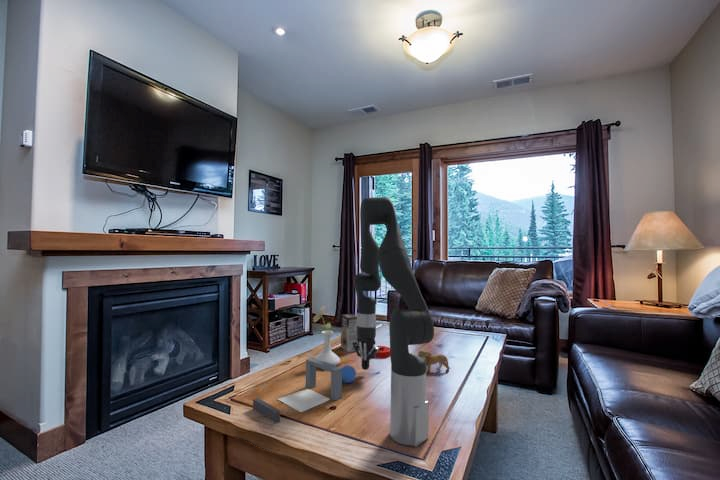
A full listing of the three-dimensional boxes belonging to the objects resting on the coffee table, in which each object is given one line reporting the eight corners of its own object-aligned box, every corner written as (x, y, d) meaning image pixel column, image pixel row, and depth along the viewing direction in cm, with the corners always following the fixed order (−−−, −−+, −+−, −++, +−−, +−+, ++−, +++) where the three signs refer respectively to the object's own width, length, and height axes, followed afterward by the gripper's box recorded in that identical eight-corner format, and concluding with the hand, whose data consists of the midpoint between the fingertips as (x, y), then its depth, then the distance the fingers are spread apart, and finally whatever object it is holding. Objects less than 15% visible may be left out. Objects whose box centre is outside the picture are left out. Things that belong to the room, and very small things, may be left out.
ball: (359, 382, 124) (359, 365, 124) (347, 387, 120) (348, 370, 120) (347, 377, 128) (347, 362, 128) (335, 382, 124) (336, 365, 124)
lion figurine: (421, 375, 132) (421, 352, 133) (414, 370, 137) (415, 348, 138) (453, 371, 137) (453, 349, 137) (446, 367, 142) (446, 345, 142)
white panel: (330, 399, 109) (330, 399, 109) (300, 412, 101) (300, 411, 101) (307, 388, 118) (307, 388, 118) (277, 399, 109) (277, 399, 109)
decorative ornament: (368, 352, 161) (368, 345, 161) (387, 351, 163) (387, 345, 163) (372, 359, 151) (372, 352, 151) (393, 358, 153) (393, 351, 153)
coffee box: (340, 347, 168) (340, 314, 168) (352, 345, 170) (352, 313, 171) (347, 352, 159) (348, 318, 160) (359, 350, 162) (360, 317, 162)
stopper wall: (279, 421, 95) (280, 410, 95) (275, 423, 94) (275, 412, 94) (257, 407, 103) (257, 397, 103) (252, 408, 102) (253, 398, 102)
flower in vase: (326, 358, 150) (327, 302, 150) (345, 364, 142) (347, 305, 143) (304, 366, 140) (305, 305, 140) (323, 373, 132) (325, 309, 133)
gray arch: (312, 384, 121) (312, 357, 121) (341, 397, 111) (342, 368, 111) (305, 387, 119) (306, 359, 119) (334, 400, 109) (335, 370, 109)
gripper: (347, 322, 133) (346, 366, 133) (373, 329, 124) (372, 376, 124) (360, 320, 139) (359, 362, 139) (385, 325, 130) (384, 371, 130)
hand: (365, 368), depth 131 cm, fingers closed
